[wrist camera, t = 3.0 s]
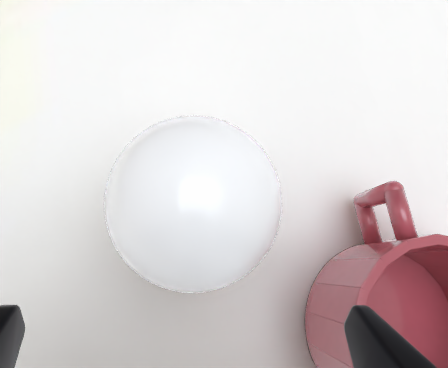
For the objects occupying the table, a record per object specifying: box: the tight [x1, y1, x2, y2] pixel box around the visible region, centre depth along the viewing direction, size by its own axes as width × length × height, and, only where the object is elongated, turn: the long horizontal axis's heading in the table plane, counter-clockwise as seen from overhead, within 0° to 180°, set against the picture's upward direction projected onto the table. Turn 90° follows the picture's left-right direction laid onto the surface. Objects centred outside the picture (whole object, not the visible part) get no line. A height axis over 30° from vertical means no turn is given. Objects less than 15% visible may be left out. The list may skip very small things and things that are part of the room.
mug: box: [305, 181, 448, 368], centre depth 18 cm, size 13×10×6 cm
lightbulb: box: [104, 115, 282, 293], centre depth 15 cm, size 6×6×11 cm
